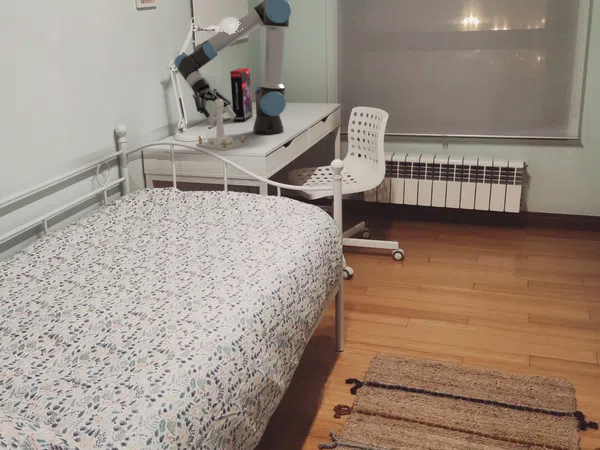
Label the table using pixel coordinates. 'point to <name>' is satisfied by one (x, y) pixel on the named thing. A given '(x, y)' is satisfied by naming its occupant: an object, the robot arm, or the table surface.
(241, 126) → the table surface
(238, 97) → the graphics card box
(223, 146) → the plate
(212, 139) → the joystick
